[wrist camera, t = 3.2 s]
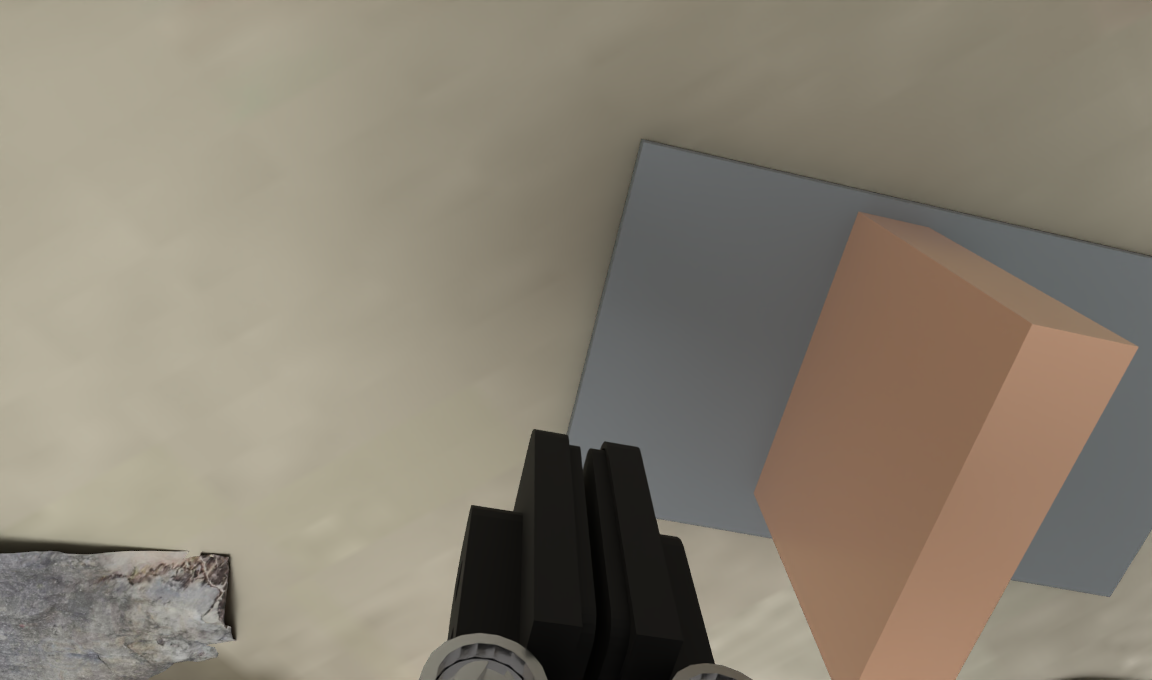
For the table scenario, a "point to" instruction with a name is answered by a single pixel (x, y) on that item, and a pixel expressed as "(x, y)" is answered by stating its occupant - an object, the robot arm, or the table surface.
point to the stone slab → (108, 613)
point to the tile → (925, 447)
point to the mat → (784, 330)
